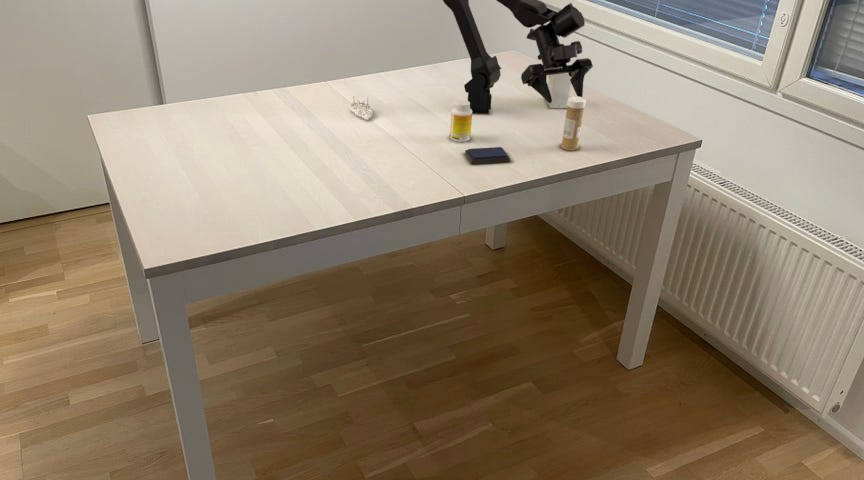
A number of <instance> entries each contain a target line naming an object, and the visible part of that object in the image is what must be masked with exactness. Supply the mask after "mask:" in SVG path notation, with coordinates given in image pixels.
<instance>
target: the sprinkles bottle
mask: <svg viewBox="0 0 864 480" xmlns="http://www.w3.org/2000/svg"><path fill="white" fill-rule="evenodd" d="M586 102H587V99H586V98H584V96H583V97H578V96H577V95H574V96H570V97H569V98H568V101H567V108H566V112H565V118H564V124H563V130H562V132H563V133H562V139H561V144H560V147H561V148H562V149H563V150H566V151H576V150H578V149H579V143H580V136H581V132H582V131H581V130H582V124H583V116H584V110H585V108H586V104H587V103H586Z"/></svg>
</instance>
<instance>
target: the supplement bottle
mask: <svg viewBox="0 0 864 480" xmlns="http://www.w3.org/2000/svg"><path fill="white" fill-rule="evenodd" d="M450 112H451V113H450V129H449V137H450V139H451V140H452V141H454V142H456V143H457V142H458V143H464V142H468V141H469V140H470V139H471V136H472V135H471V133H472V123H473V113H472V110H471V109H470V102H469V101H468V99H466V100H465V99H457V100H456V101H454V107H453V108H452V109H451V111H450Z"/></svg>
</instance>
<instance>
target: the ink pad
mask: <svg viewBox="0 0 864 480" xmlns="http://www.w3.org/2000/svg"><path fill="white" fill-rule="evenodd" d="M464 155H465V156H466V158H467V161H468V162H469V163H470V164H471V165H486V164H501V163H502V164H504V163H510V161H511V157H510V155H508V153H507V152H506V151H505V149H504V148H503V147H502V146H495V147H494V146H493V147H491V146H490V147H477V148H468V149H465V150H464Z"/></svg>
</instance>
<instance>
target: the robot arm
mask: <svg viewBox="0 0 864 480" xmlns="http://www.w3.org/2000/svg"><path fill="white" fill-rule="evenodd" d="M495 1H496V2H498V3H499V4H501V5H502V6H504V7H505V8H506V9H508V10H509V11H510V12H511V14H512V16H513V17H514V18H515V19H516V20H517V21H518V22H519V23H520V24H521V25H522V26H523V27H525V28H527V29H528V28H529V32H528V33H527V35H526V39H528V40H530V41H535V43H536V46H537V51H538V53H539V54H538V55H537V60H538V61H540V60H541V63H535V64H534V63H533V64H528V66H527V67H526V68H525V69H524V70H523V72H522V73H521V76H520V79H521V82H522V83H521V84H522V85H527V86H528V87H531V88H532V89H533V90H535V91H536V92H537V93H538V94H539V95H540V96H541V97H542V98H543V99H544V100H545V101H546V103H547V102H548V103H551V102H552V98H551V94H550V91H549V88H548V78H547V77H548V76H549V75H555V74H563V73H568V74H569V76H570V77H572V78H571V79H570V82H571V84H572V88H573V90H574V92H575V96H578V97H583V98H584V96H583V94H584V81H585V77H586V74H588V72H590V70H591V69H592V68H593V67H594V65H593V62H592V59H591V58H588V57H586V58H578V55H580V54H582V53H583V45H582V43H581V40H576V41H572V42H570V44H567V45H565V44H564V43H560V40H559V38H561V37H562V38H564V39H566V38H567V37H569V36H570V35H572V34H574V33H575V32H577V31H579V30H580V29H582V28H583V27H585V24H586V22H585V18H584V15H583V13H582V12H581V11H580V10H579V9H578V8H576V7H575V6H574V5H573V3H572V2H569V3H568V4H566V5H565V6H564V7H563V8H561V10H559V11H556V10H554V9H551V8H549V7H547V4H546V3H544V2H543V1H541V0H495ZM442 2H443V3H444V5H445V6H446V7H447V8H448V9H450V10H451V12H452V14H453V16H454V19H455V21H456V24H457V27H458V29H459V32H460V35H461V37H462V40H463V43H464V45H465V47H466V50H467V53H468V55H469V58H470V75H471V79H469V80H468V81H467V82H466V83H465V84H464V85H463V87H464V91H465V93H467V101H469V102H470V109H471V110H472V114H479V115H480V114H481V115H489V114H490V111H491V110H492V109H491V108H492V100H493V99H492V98H493V95H492V93H491V89H492V88H493V87H494V85H495V84H496V83H498V82H499V80H500V77H501V70H502V67H501V66H500V63H499V62H498V61H499V60H498V58H497V56H496V55H494V56H491V55H490V54H489V53H488V52H487V50H486V46H485V44H484V42H483V41H484V40H483V39H482V36H481V33H480V31H479V28H478V26H477V23H476V20H475V18H474V15H473V11H472V10H471V7H470V3H469V0H442ZM536 26H537V27H536ZM533 27H536V28H535V29H534V28H533ZM572 58H576V60H575V61H573V62H572V64H569V63H570V62H571V61H572ZM548 103H547V104H548Z"/></svg>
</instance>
